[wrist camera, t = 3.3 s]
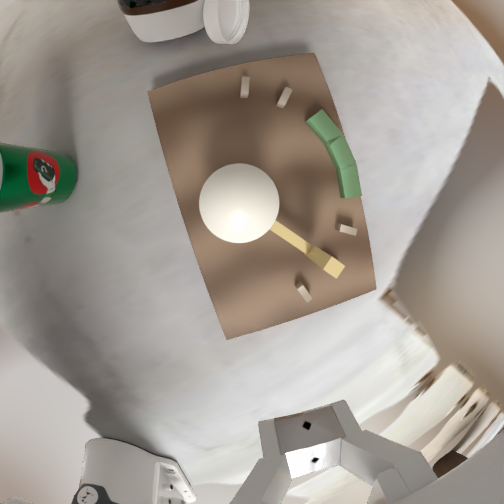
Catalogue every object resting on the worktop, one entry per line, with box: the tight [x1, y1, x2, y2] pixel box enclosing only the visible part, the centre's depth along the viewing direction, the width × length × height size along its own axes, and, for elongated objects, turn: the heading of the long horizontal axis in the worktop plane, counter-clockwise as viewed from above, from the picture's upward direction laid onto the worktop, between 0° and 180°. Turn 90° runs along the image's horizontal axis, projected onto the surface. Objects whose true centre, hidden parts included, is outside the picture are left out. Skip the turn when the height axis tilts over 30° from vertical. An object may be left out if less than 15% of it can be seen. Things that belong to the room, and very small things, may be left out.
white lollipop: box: [199, 163, 345, 279], centre depth 19 cm, size 10×5×6 cm, turn 56°
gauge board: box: [148, 53, 376, 340], centre depth 22 cm, size 23×15×3 cm, turn 16°
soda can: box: [0, 143, 76, 213], centre depth 16 cm, size 5×5×12 cm
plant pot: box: [433, 451, 468, 478], centre depth 34 cm, size 15×15×16 cm
